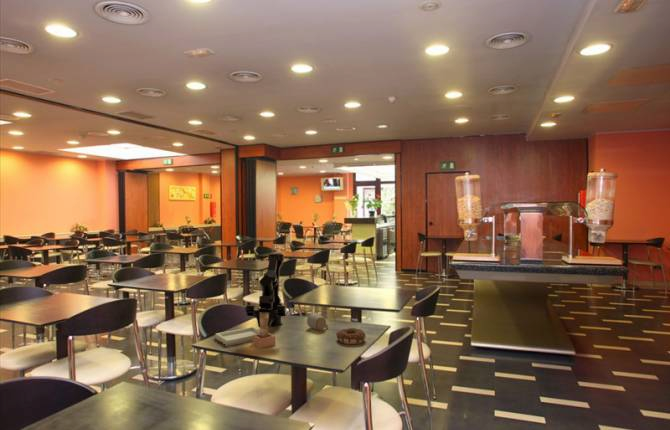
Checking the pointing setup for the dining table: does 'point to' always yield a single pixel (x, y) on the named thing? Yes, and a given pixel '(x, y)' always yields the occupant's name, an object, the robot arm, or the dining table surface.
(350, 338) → the donut
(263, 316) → the dowel
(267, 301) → the robot arm
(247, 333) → the tray
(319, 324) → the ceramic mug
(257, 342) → the square frame
